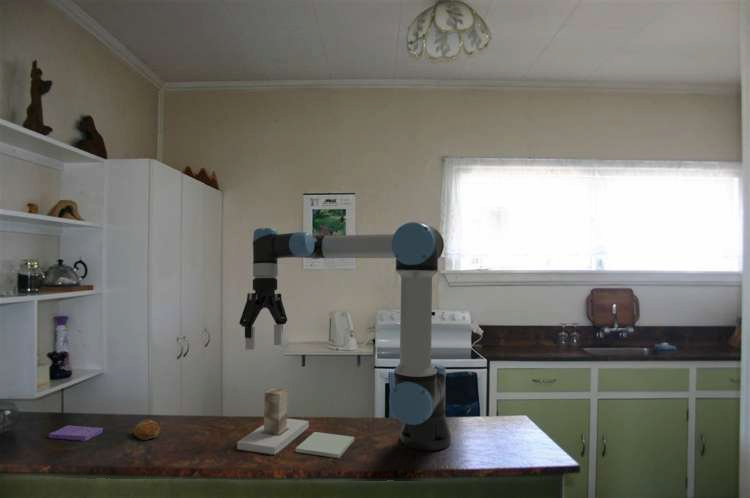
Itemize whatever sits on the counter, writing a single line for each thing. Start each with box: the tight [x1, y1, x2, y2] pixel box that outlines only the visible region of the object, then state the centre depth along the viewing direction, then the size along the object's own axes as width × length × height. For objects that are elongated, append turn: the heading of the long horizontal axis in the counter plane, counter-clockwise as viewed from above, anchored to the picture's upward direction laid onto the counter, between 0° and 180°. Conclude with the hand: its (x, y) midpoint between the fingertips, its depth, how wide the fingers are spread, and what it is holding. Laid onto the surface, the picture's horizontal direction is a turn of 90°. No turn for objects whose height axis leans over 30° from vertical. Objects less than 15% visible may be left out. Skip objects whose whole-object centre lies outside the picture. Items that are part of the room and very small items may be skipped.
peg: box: [263, 387, 288, 436], centre depth 135 cm, size 5×5×14 cm
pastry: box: [133, 419, 161, 441], centre depth 135 cm, size 9×7×4 cm
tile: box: [295, 431, 355, 459], centre depth 129 cm, size 13×13×1 cm
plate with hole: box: [236, 417, 310, 456], centre depth 135 cm, size 12×22×2 cm, turn 164°
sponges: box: [48, 425, 104, 442], centre depth 135 cm, size 7×13×2 cm, turn 82°
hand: (264, 347), depth 136 cm, fingers open, 13 cm apart
